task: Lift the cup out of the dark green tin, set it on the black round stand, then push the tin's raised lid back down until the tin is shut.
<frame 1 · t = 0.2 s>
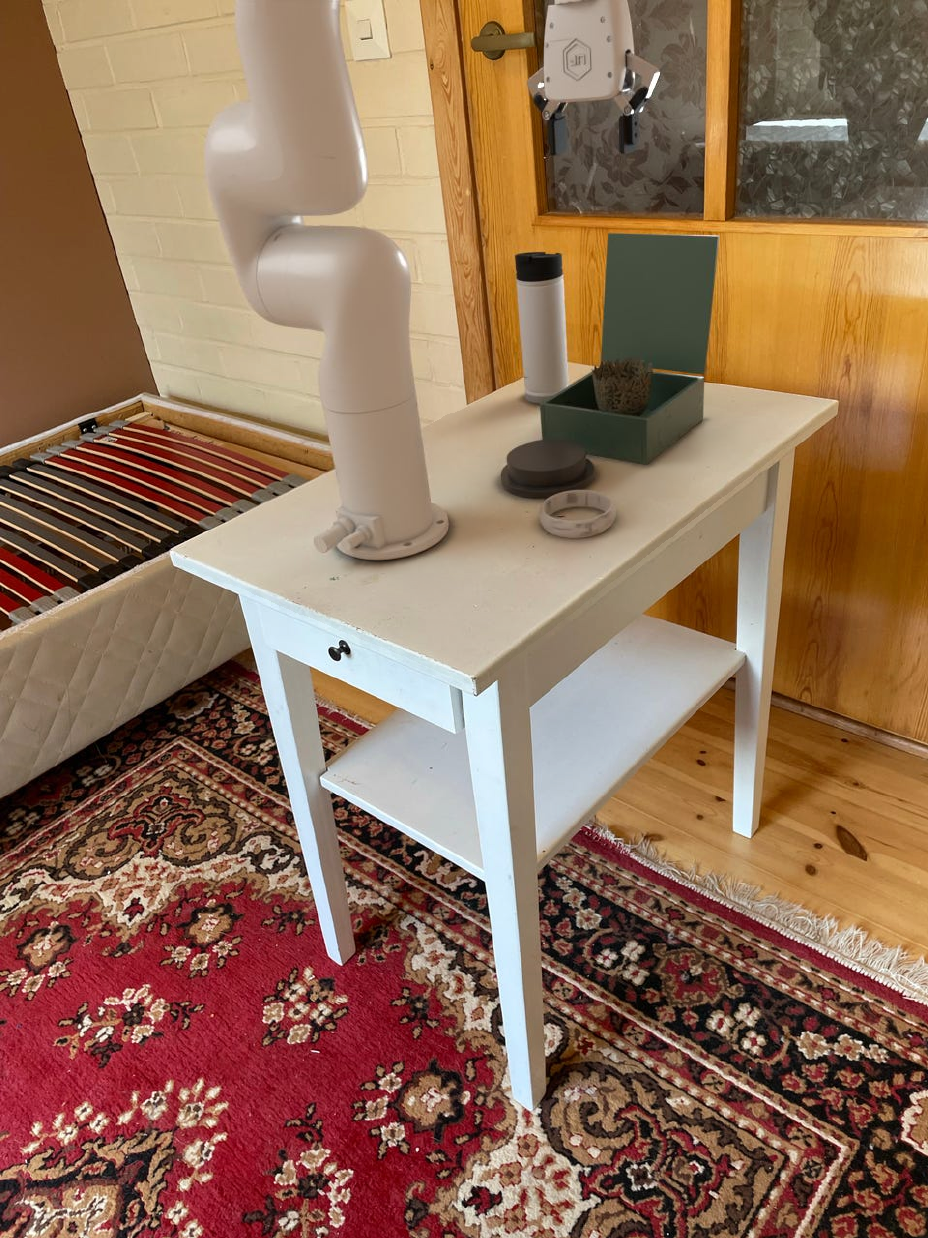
hand: (593, 152, 114), 31 cm above the nightstand, tool pointing down, fingers open, 9 cm apart
ring: (577, 523, 100), on the nightstand
stand: (547, 478, 110), on the nightstand
tin lid: (656, 303, 118), point 14 cm above the nightstand, hinge at 100.0°
travel mug: (546, 398, 133), on the nightstand
cup: (623, 429, 119), resting in tin
tin: (623, 432, 119), on the nightstand
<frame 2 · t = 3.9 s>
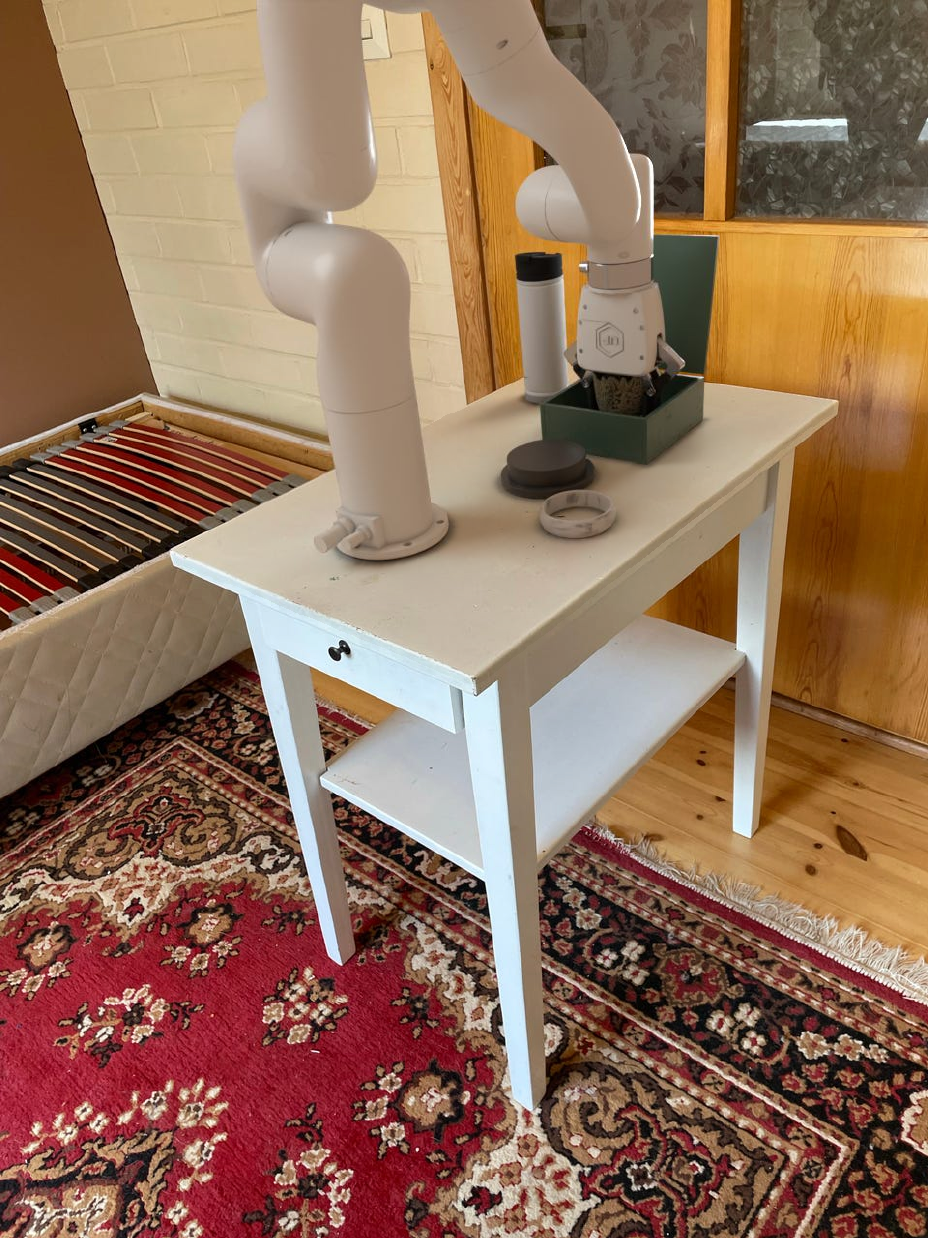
hand: (623, 417, 118), 2 cm above the nightstand, tool pointing down, fingers closed on cup, 7 cm apart
cup: (623, 429, 119), resting in tin, touching gripper
everything else where it was.
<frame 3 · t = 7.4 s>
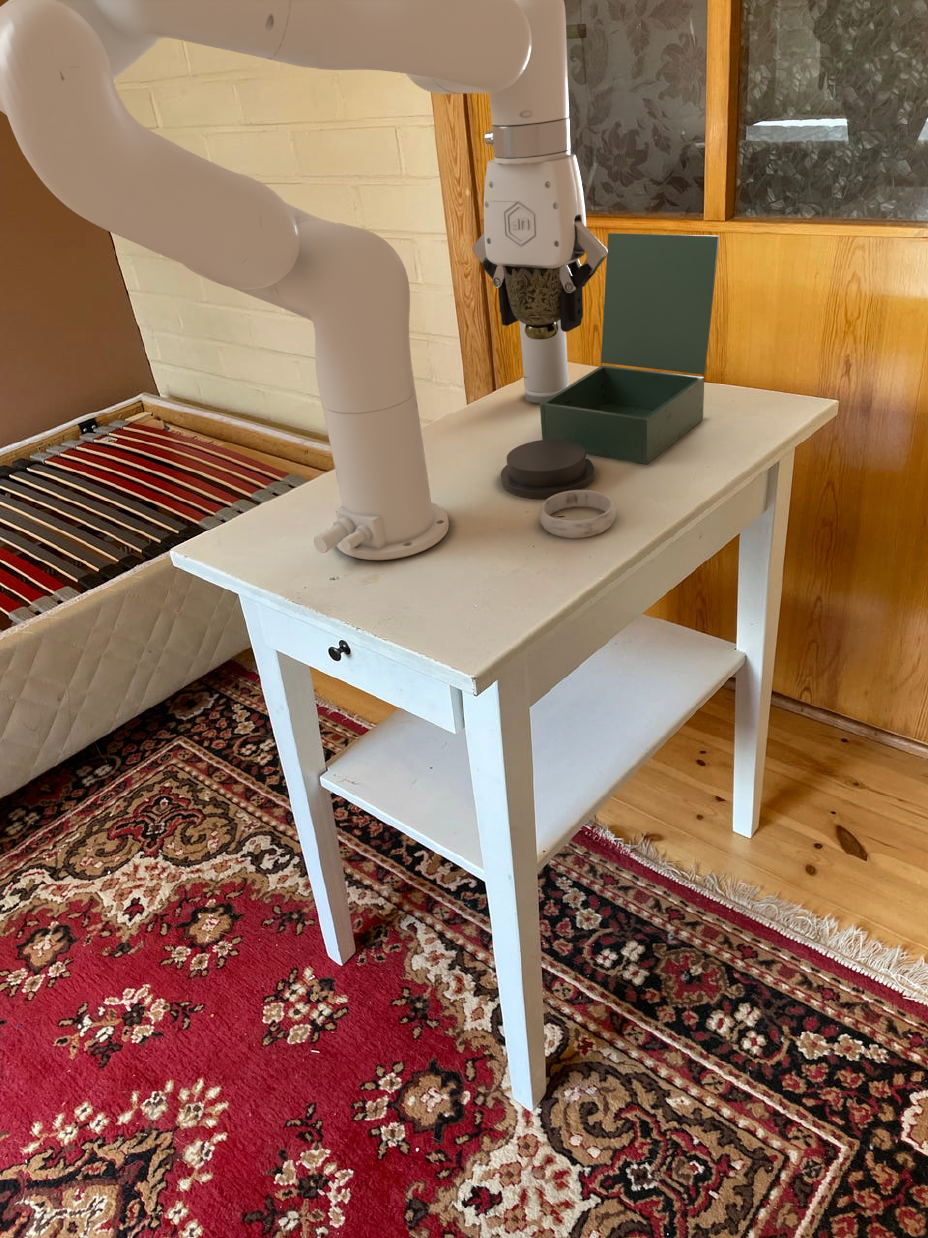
hand: (541, 323, 101), 18 cm above the nightstand, tool pointing down, fingers closed on cup, 6 cm apart
cup: (541, 338, 102), point 16 cm above the nightstand, touching gripper
everything else where it was.
when the fingers open (4 cm above the nightstand, at t = 11.0 s): cup stays where it is, resting on stand.
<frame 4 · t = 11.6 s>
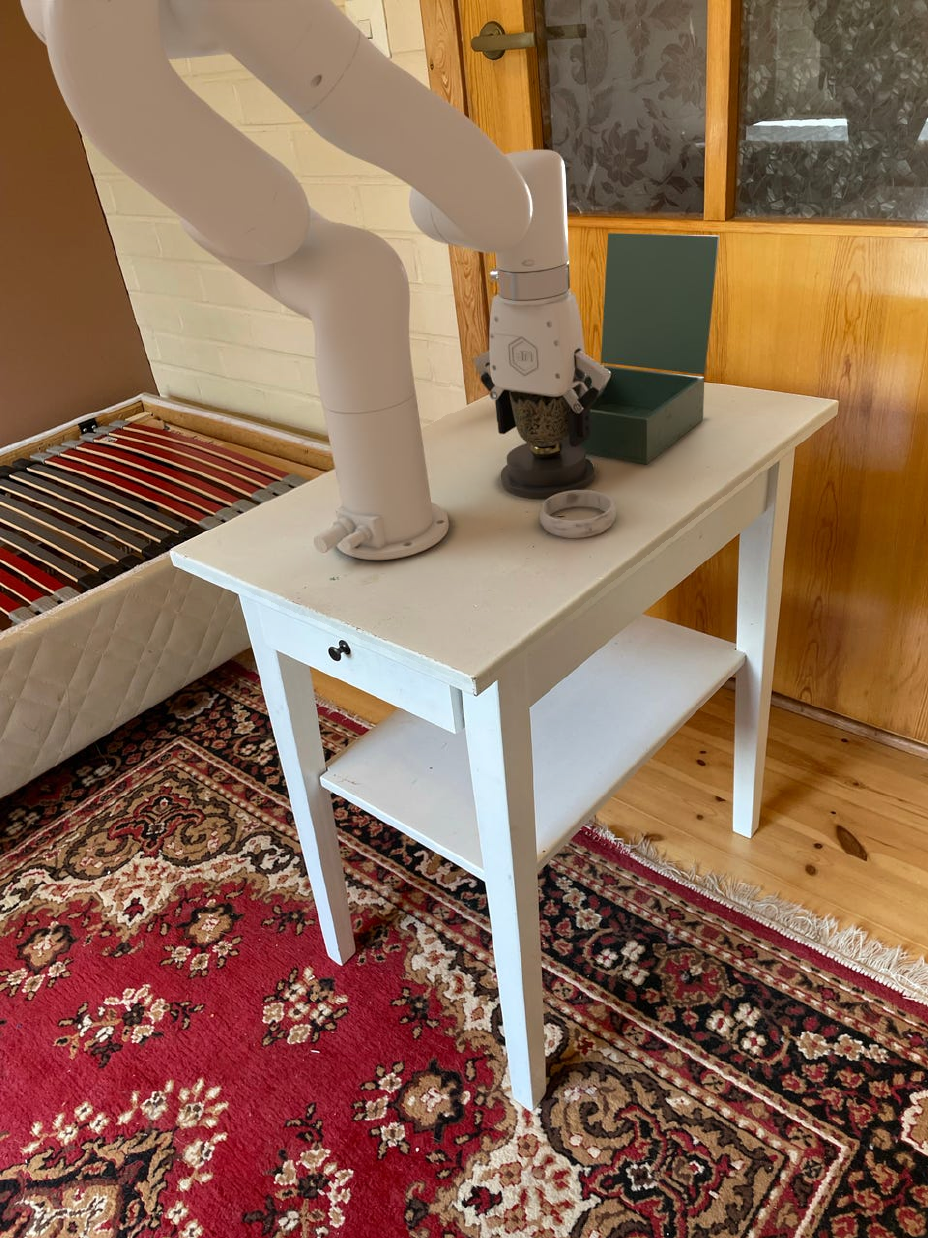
hand: (543, 435, 107), 5 cm above the nightstand, tool pointing down, fingers open, 9 cm apart
cup: (546, 455, 109), point 3 cm above the nightstand, touching stand
everything else where it was.
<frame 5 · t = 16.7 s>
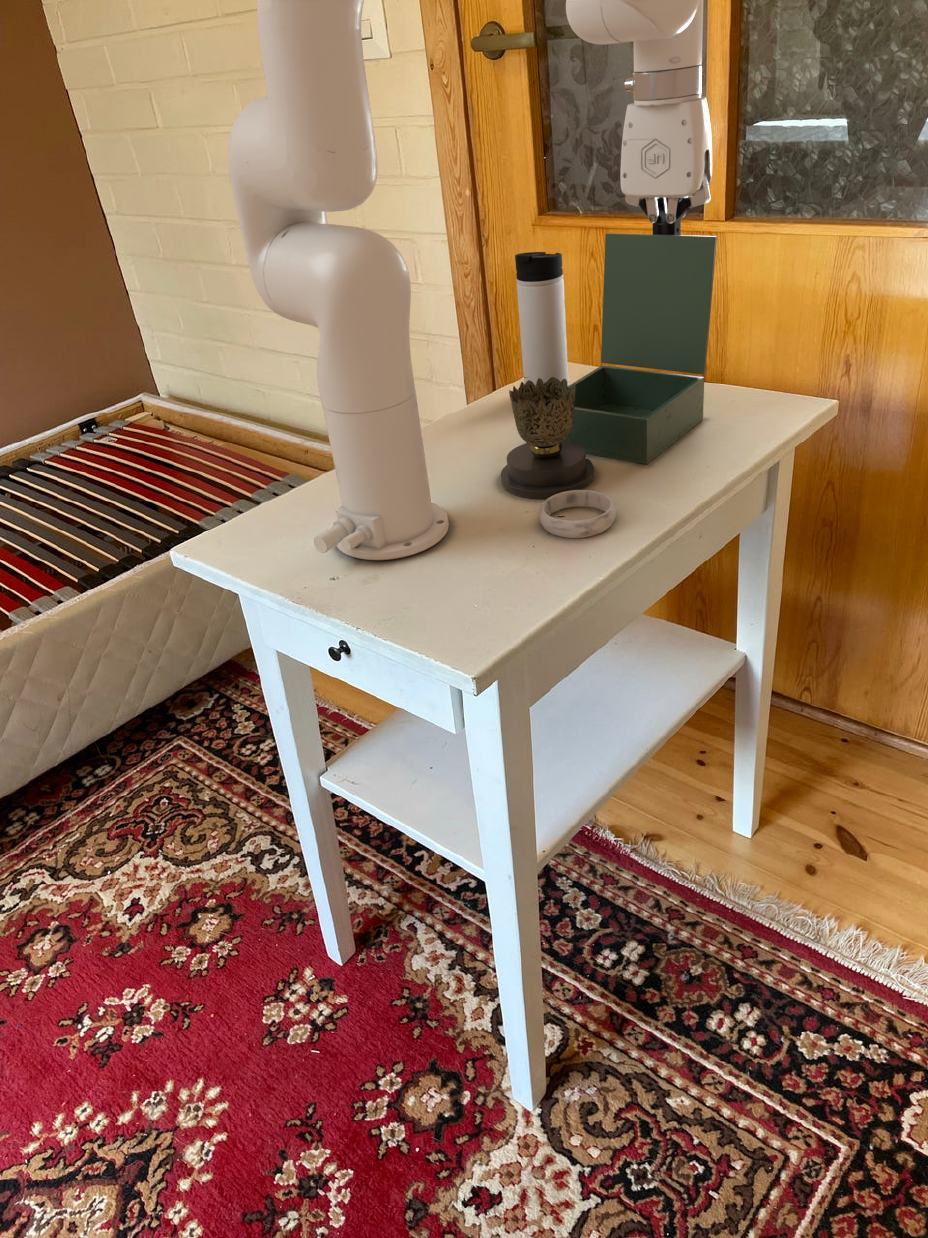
hand: (666, 254, 116), 19 cm above the nightstand, tool pointing down, fingers closed
tin lid: (655, 303, 117), point 14 cm above the nightstand, hinge at 97.6°, touching gripper
everything else where it was.
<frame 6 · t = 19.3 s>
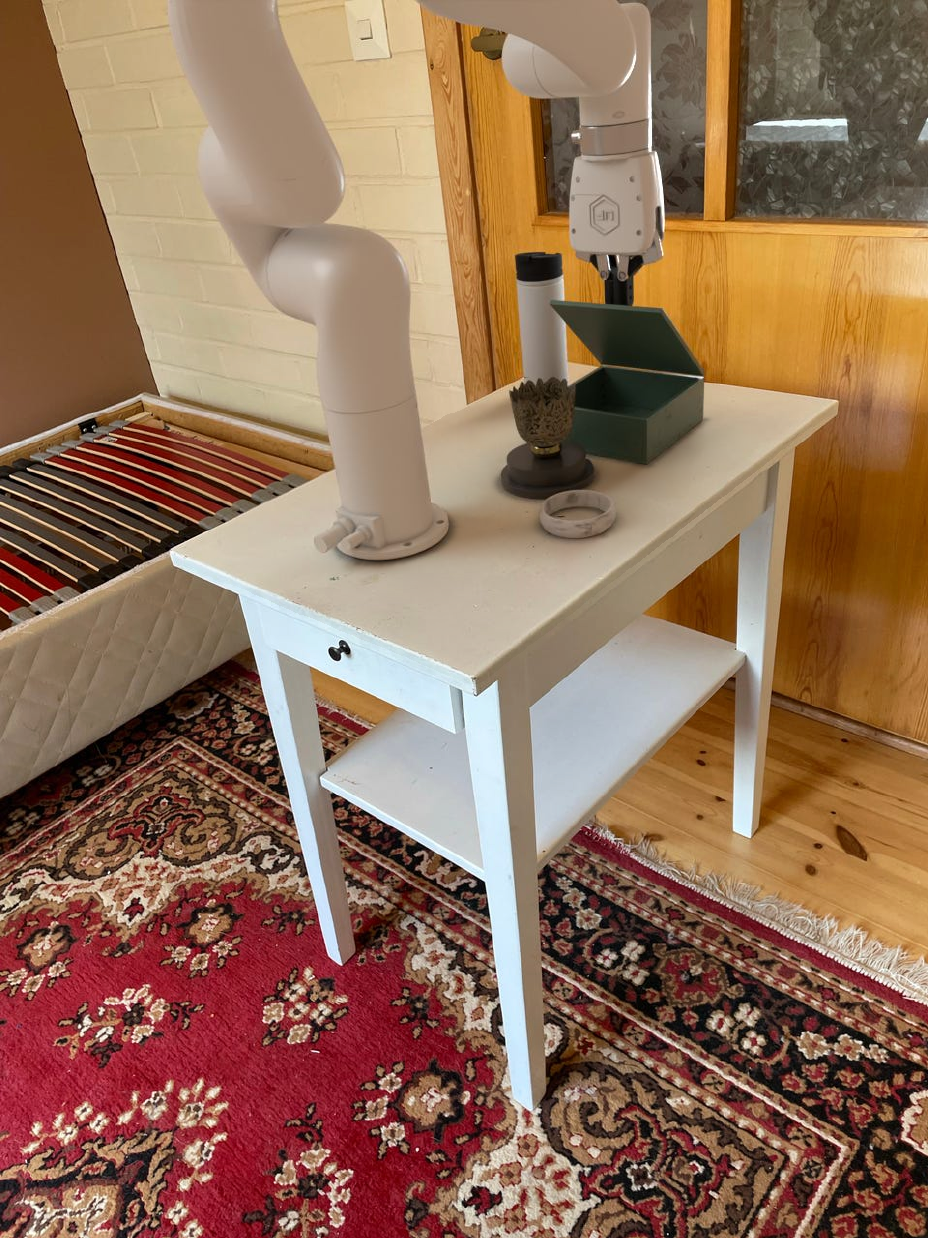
hand: (619, 311, 111), 15 cm above the nightstand, tool pointing down, fingers closed
tin lid: (628, 338, 114), point 11 cm above the nightstand, hinge at 43.6°, touching gripper
everything else where it was.
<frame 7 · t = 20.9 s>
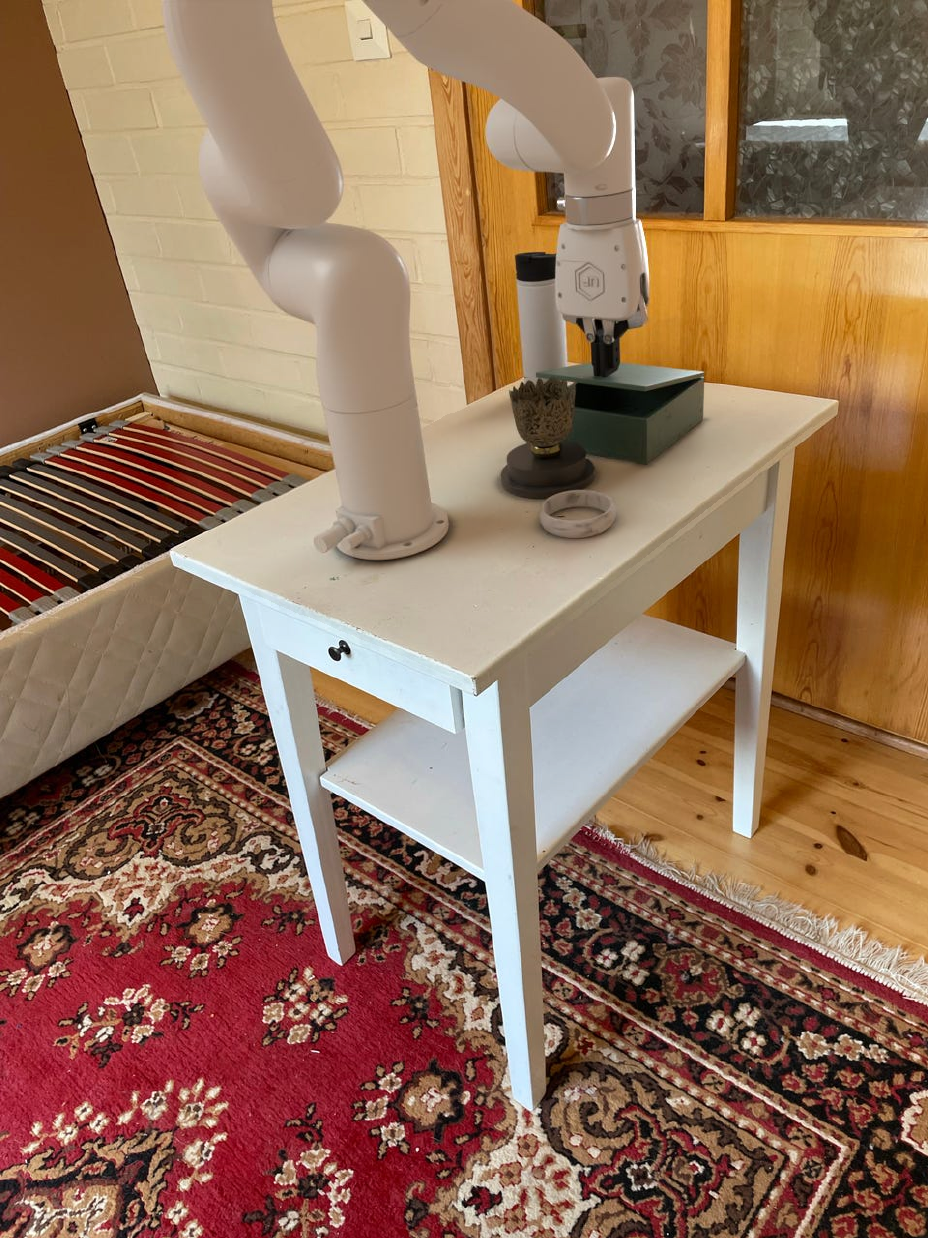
hand: (606, 372, 112), 9 cm above the nightstand, tool pointing down, fingers closed
tin lid: (621, 374, 115), point 8 cm above the nightstand, hinge at 12.4°, touching gripper
everything else where it was.
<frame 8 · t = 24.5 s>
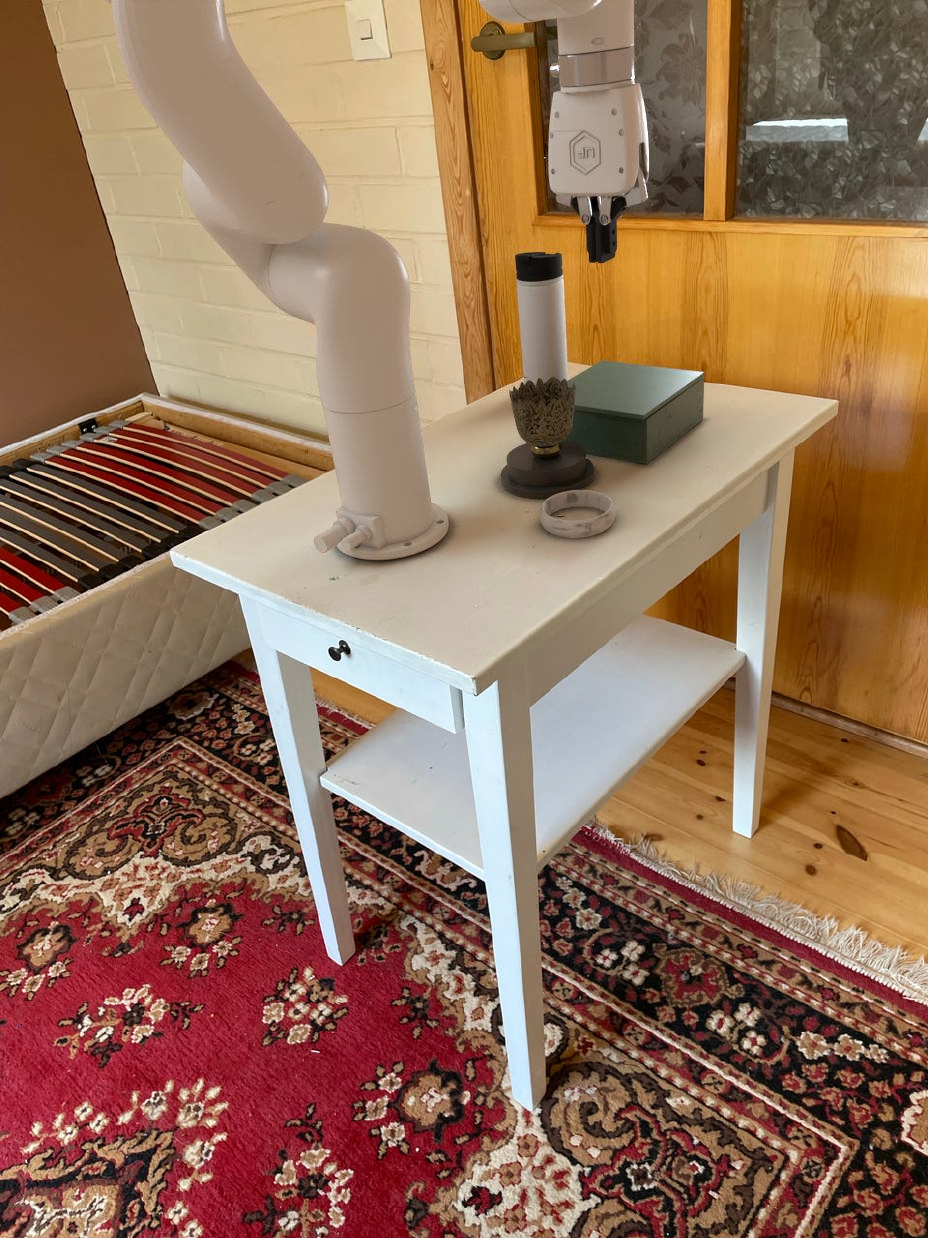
hand: (602, 259, 105), 22 cm above the nightstand, tool pointing down, fingers closed
tin lid: (620, 387, 116), point 6 cm above the nightstand, hinge at 0.7°
everything else where it was.
at the end: cup 0.1 cm off-centre on the stand, point 2.8 cm above the stand's base; cup tilted 0°; tin lid at +1° (first picture: +100°) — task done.
